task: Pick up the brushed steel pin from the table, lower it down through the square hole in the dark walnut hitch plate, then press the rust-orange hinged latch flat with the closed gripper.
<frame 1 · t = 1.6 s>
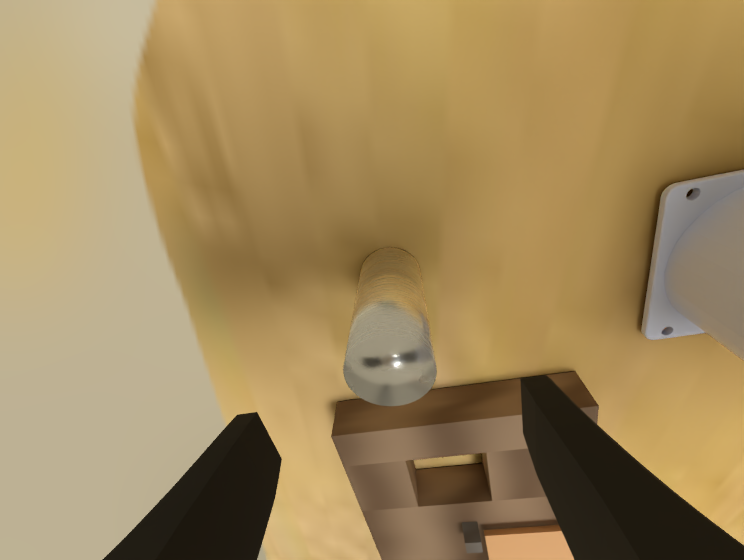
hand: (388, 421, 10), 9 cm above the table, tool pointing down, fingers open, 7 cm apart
steel pin: (390, 275, 17), on the table
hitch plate: (464, 471, 24), on the table
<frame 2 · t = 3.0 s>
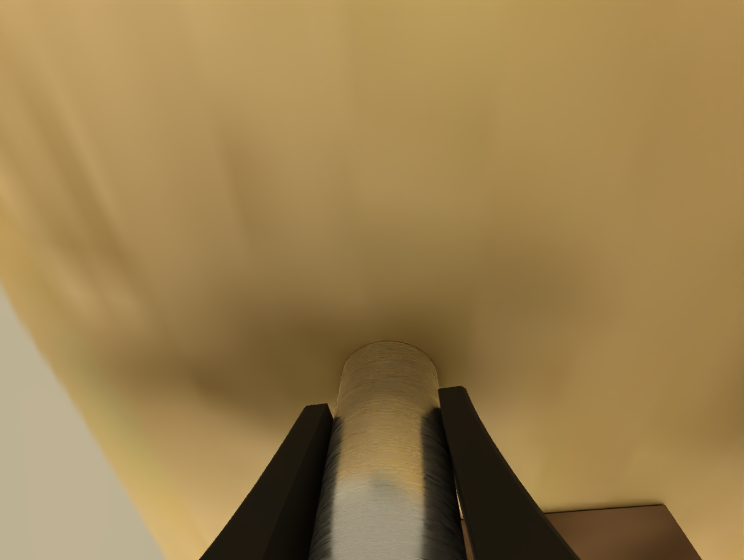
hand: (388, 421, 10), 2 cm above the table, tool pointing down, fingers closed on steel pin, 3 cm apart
steel pin: (389, 379, 11), on the table, touching gripper
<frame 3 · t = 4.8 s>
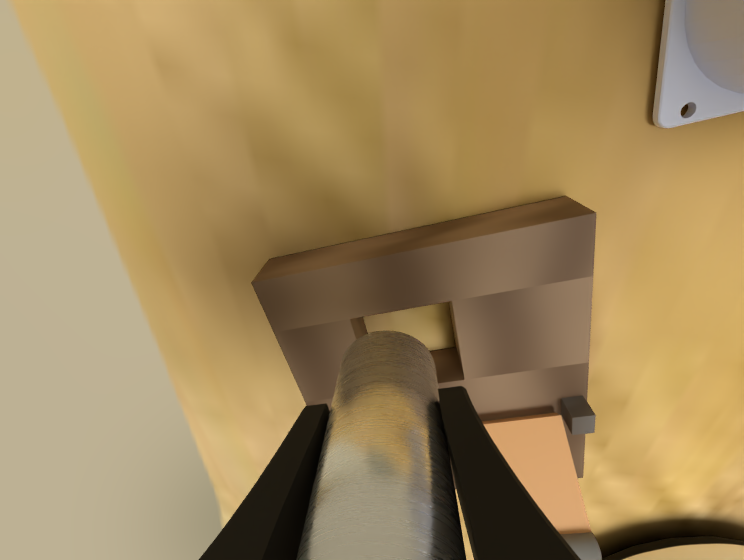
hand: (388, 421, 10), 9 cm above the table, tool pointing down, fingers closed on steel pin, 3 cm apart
steel pin: (387, 370, 11), point 7 cm above the table, touching gripper
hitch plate: (434, 360, 20), on the table
latch: (522, 487, 17), point 5 cm above the table, hinge at 40.0°
when the fingers open (3 cm above the table, at t = 6.7 s): steel pin drops 1 cm, resting in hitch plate.
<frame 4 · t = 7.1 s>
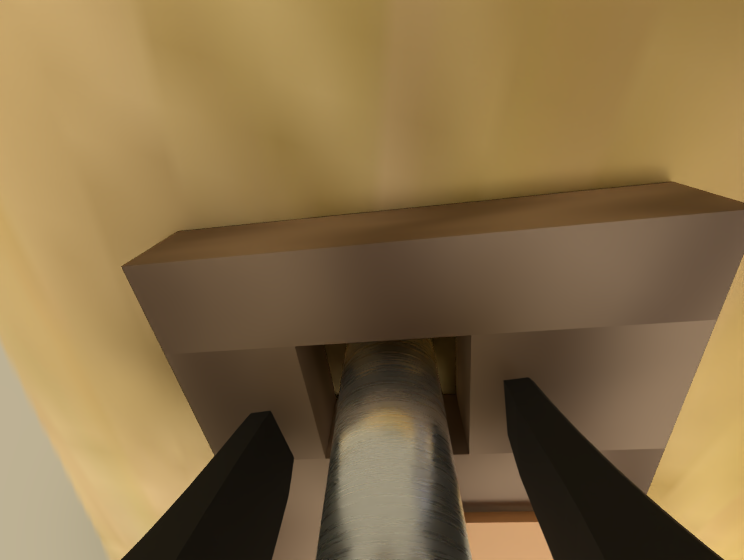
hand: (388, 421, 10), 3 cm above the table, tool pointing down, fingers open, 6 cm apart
steel pin: (389, 346, 12), resting in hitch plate
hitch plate: (422, 408, 14), on the table
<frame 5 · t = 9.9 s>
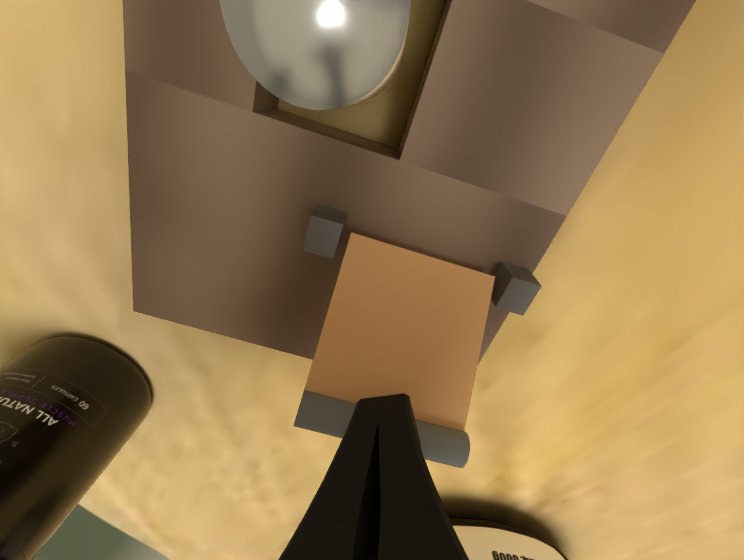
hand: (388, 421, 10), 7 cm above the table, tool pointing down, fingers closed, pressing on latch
steel pin: (357, 52, 12), resting in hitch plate
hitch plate: (359, 157, 13), on the table
supplement bottle: (97, 377, 20), on the table
latch: (401, 344, 11), point 5 cm above the table, hinge at 39.5°, touching gripper
milk container: (453, 555, 27), on the table
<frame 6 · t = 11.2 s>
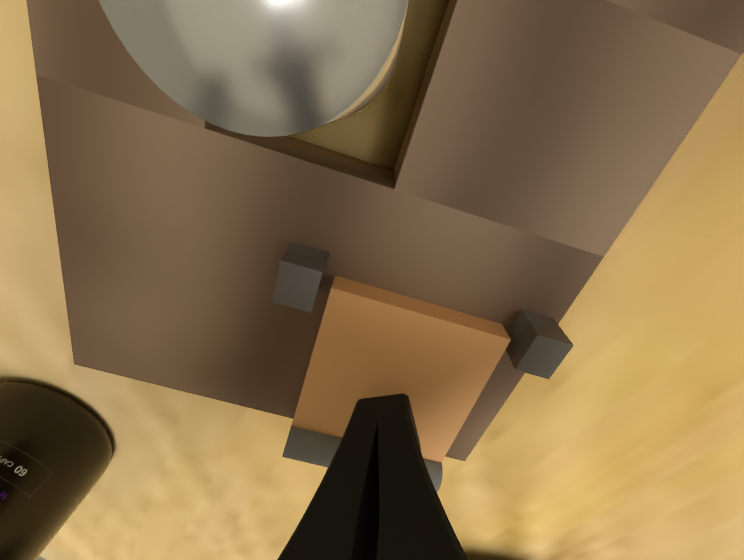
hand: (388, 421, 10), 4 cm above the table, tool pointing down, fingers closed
steel pin: (341, 53, 9), resting in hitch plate
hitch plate: (346, 179, 11), on the table
supplement bottle: (50, 424, 17), on the table
latch: (387, 396, 10), point 3 cm above the table, hinge at 3.5°
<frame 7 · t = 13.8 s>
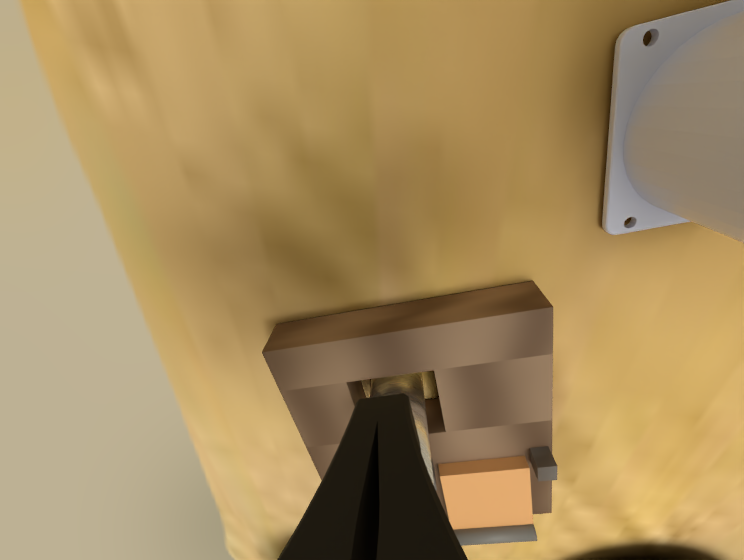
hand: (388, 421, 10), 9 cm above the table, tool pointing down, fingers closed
steel pin: (396, 373, 21), resting in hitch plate
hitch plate: (421, 408, 22), on the table
latch: (488, 504, 21), point 3 cm above the table, hinge at 3.5°
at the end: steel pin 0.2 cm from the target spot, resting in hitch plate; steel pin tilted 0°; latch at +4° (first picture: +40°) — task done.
